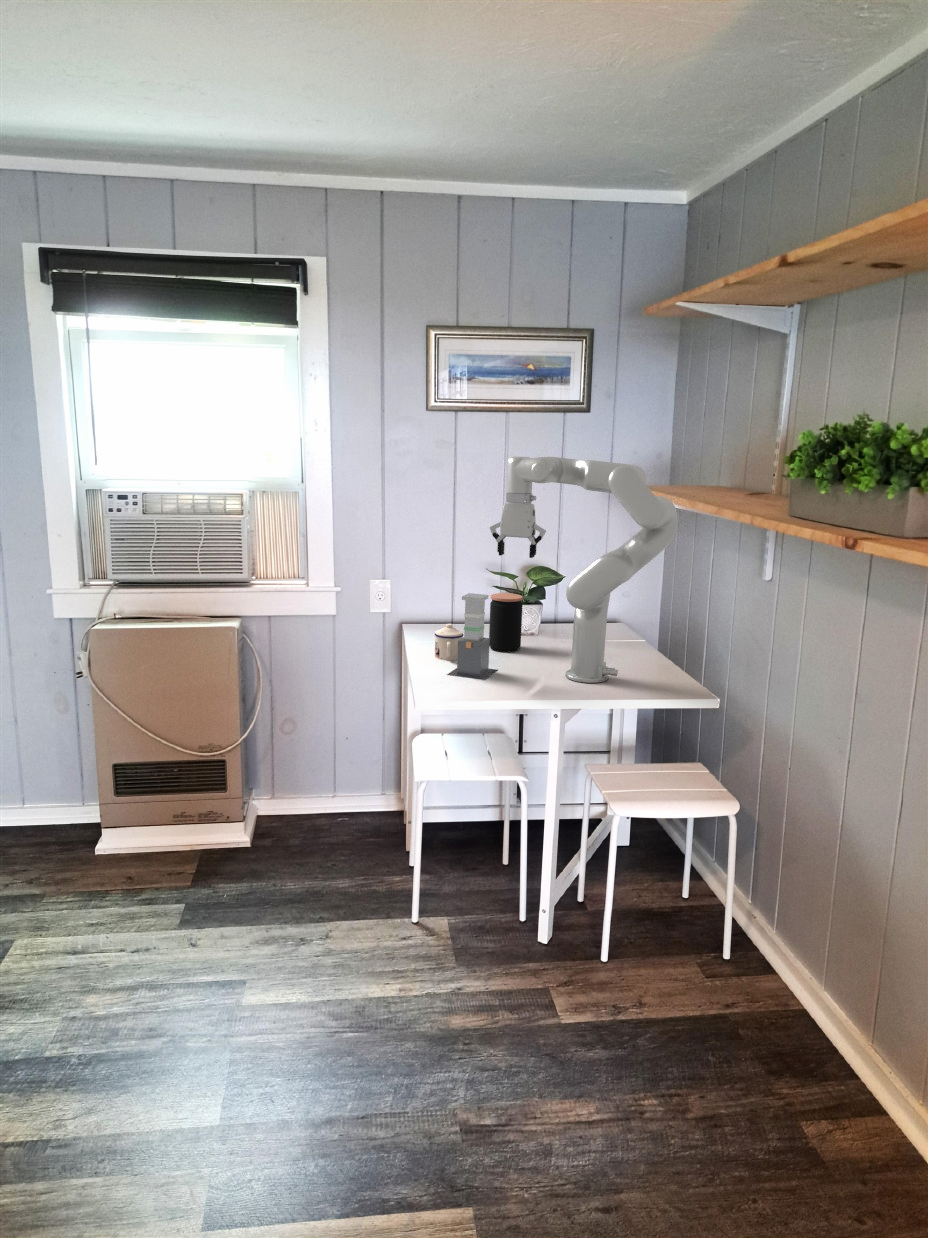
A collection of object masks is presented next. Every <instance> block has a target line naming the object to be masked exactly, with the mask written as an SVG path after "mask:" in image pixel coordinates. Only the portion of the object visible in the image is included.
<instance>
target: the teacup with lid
mask: <svg viewBox="0 0 928 1238" xmlns="http://www.w3.org/2000/svg"><path fill="white" fill-rule="evenodd" d="M434 636H435V637H434V658H435V659H438V660H441V661H457V656H458V640H460V639H462V638H463V637H464V631H462V630H460V629H457V628H456V627H454V626H453V624H452V623H446V624H445V626H444V627H442V628H441V629H440V628H439V629H437V630H436V631H435V632H434Z"/></svg>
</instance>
